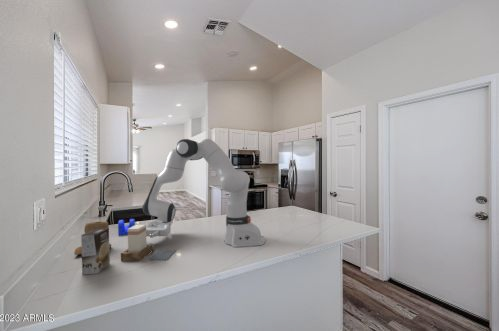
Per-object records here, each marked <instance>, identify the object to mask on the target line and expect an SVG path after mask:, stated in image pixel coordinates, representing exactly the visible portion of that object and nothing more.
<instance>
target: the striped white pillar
mask: <svg viewBox="0 0 499 331" xmlns="http://www.w3.org/2000/svg"><path fill="white" fill-rule="evenodd" d="M146 226H147V224H135V226H133V227H131V228H129V229H128V235H127V249H128V252H134V253H139V252H140V251H142V250H143V249H145V248H146V247H147V236H146Z"/></svg>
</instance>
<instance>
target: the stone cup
mask: <svg viewBox="0 0 499 331" xmlns="http://www.w3.org/2000/svg"><path fill="white" fill-rule="evenodd" d="M109 224H110V223H109V222H108V221H106V220H103V221H102V220H100V221H99V220H98V221H89V222H88V221H87V222H86V223H85V226H84V234H85V233H87V232H89V231H92V230H94V229H104V228H109ZM109 229H110V228H109ZM111 246H112V244H111V243H109V249H110V248H111ZM73 253H74V255H75V256H78V255H82V245H81V246H77V247H75V249H74V251H73Z"/></svg>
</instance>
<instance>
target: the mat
mask: <svg viewBox="0 0 499 331" xmlns="http://www.w3.org/2000/svg"><path fill="white" fill-rule="evenodd" d="M174 253H176V250H174V249H173V250H172V249H171V250H168V249H167V250H166V249H165V250H164V249H163V250H162V249H161V250H160V249H159V250H157V251H156V252H154V253H153V254H152V255H151V256H149V257H148V258H147V259H146V261H147V260H165V261H164V262H166V260H167V261H168V260H169V259H170V258H171V256H173V254H174Z"/></svg>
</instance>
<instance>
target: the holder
mask: <svg viewBox="0 0 499 331" xmlns="http://www.w3.org/2000/svg"><path fill="white" fill-rule="evenodd" d="M153 244H154V243H150V244H149V245H146V248H145V249H143V250H142V251H140V252H139V253H134V252H128V248H127V249H125V250H124V251H122V252H121V253H120V261H121V262H141V261H142V260H143V259H145V258H146V257H147V256H148V255H150V254H151V253H152V252H153V251H154V245H153ZM151 251H152V252H151ZM150 252H151V253H150ZM149 253H150V254H149ZM145 256H146V257H145ZM144 257H145V258H144ZM140 260H141V261H140Z"/></svg>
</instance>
